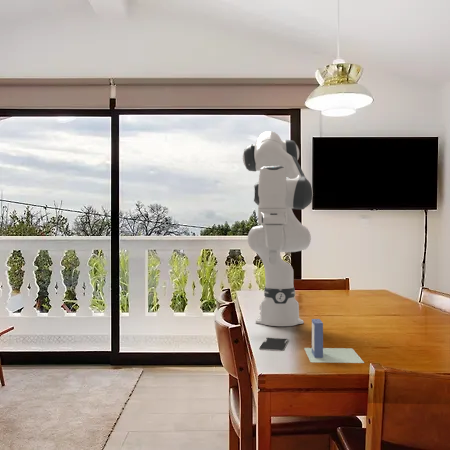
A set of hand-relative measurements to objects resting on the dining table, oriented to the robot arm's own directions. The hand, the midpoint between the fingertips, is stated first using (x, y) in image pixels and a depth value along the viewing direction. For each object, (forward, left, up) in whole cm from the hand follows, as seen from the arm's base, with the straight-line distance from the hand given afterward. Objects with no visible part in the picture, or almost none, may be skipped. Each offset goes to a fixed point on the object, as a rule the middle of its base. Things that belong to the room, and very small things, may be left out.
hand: (272, 263), depth 150 cm
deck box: (+3, +13, -27) cm, 30 cm away
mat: (+3, +18, -27) cm, 32 cm away
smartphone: (-9, +1, -28) cm, 29 cm away
